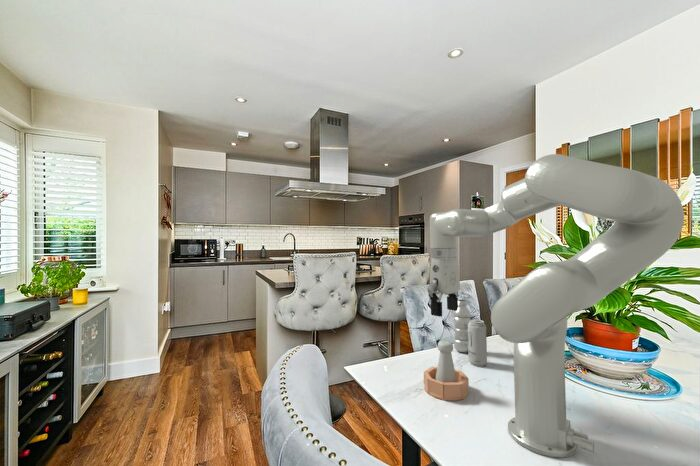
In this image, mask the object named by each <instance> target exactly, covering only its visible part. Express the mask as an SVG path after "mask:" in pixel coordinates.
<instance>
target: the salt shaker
mask: <svg viewBox="0 0 700 466" xmlns="http://www.w3.org/2000/svg"><path fill="white" fill-rule="evenodd" d="M437 350H438V351H439V357H438V362H437V366H436V367H437V373H436V380H438V381H441V382H444V383H450V382H457V380H456V375H455V369H456V368H455V366H454V360H453V355H452V352H453V351H454V344H453V343H452V342H450V341H448V340H441V341H440V340H439V342H438V343H437Z"/></svg>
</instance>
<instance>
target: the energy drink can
mask: <svg viewBox="0 0 700 466" xmlns="http://www.w3.org/2000/svg"><path fill="white" fill-rule="evenodd" d="M469 321H470V322H469V324H468V352H467V353H468V356H467V357H468V361H469V363H470V365H472V366H475V367H481V368H482V367H485V366H486V365H487V363H488V352H487V351H488V349H487V347H488V346H487V345H488V343H487V325H486V324H485V321H484V320H482V319H477V318H476V319H475V318H474V319H471V318H470V320H469Z"/></svg>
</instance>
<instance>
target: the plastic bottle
mask: <svg viewBox="0 0 700 466" xmlns="http://www.w3.org/2000/svg"><path fill="white" fill-rule="evenodd" d="M467 306H468V302H467V299H458V310H457V311H454V310H453V312H452V316H453V322H454V340H453V349H455V351H457V352H460V353H468V324H469V322H470V321H469V320H471V317H472V315H471V312H470V310H469V309H468V307H467Z"/></svg>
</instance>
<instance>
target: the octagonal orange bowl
mask: <svg viewBox="0 0 700 466" xmlns="http://www.w3.org/2000/svg"><path fill="white" fill-rule="evenodd" d="M437 367H438V366H431V367H429V368H427V369H426V370H424V371H423V385H424V391H425V392H426V393H427V394H428V395H429V396H431V397H433V398H435V399H438V400H442V401H446V402H447V401H449V402H459V401H462V400H464V399H466V398H467V397H468V395H469V391H470V390H469V387H470V385H469V383H470V382H469V380H470V379H469V377H468V376H467V375H466V374H465V373H464V372H463V371H462V370H460V369H459V370H458V369H456V368H454V369H455V375H456V380H457V382H450V383H444V382H441V381H438V380H436V373H437Z"/></svg>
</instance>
